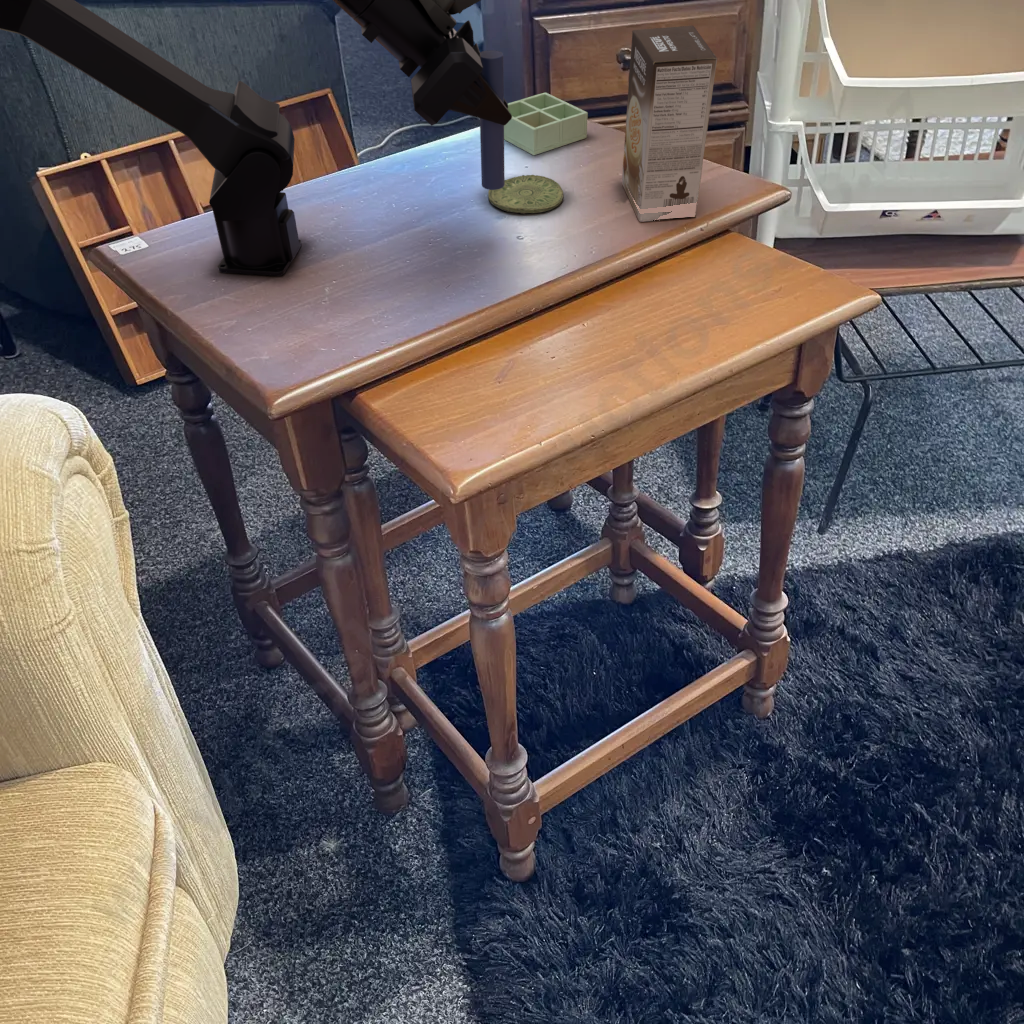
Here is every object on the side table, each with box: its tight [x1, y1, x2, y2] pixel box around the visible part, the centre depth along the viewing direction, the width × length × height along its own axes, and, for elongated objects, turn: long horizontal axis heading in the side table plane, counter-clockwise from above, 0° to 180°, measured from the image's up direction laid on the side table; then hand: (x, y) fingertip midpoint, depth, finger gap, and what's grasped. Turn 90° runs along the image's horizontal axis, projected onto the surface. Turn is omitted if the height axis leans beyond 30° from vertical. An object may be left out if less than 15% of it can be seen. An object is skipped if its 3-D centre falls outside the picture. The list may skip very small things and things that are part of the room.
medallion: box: [487, 174, 564, 215], centre depth 105 cm, size 8×8×1 cm
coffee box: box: [621, 25, 718, 223], centre depth 99 cm, size 9×6×16 cm
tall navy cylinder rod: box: [479, 49, 506, 191], centre depth 90 cm, size 2×2×12 cm
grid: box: [504, 91, 589, 156], centre depth 116 cm, size 8×8×3 cm
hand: (506, 115), depth 90 cm, fingers closed on tall navy cylinder rod, 2 cm apart
